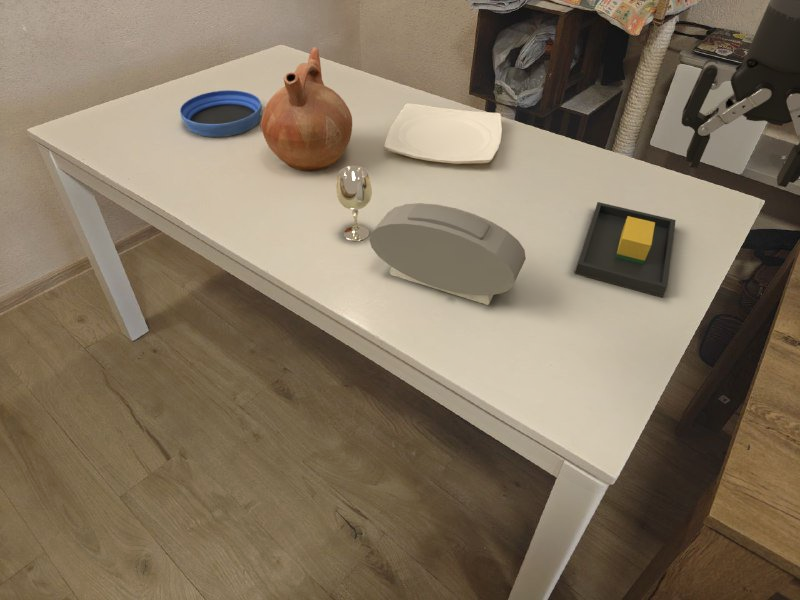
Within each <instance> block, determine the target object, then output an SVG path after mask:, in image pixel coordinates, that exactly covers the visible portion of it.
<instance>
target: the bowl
mask: <svg viewBox="0 0 800 600" xmlns="http://www.w3.org/2000/svg"><path fill="white" fill-rule="evenodd" d="M262 109H263V105H262V101H261V99H260V98H259V97H258V96H257V95H255V94H253V93H251V92H247V91H241V90H235V89H234V90H233V89H232V90H230V89H226V90H215V91H209V92H204V93H201V94H198V95H196V96H193V97H191V98H190V99H187V100H186V101H185V102H184V103H182V104H181V106H180V109H179V113H180V118H181V119H182V122H184V124H185V126H186V128H187V129H188V130H189V131H190V132H192V133H193V134H195V135H199V136H202V137H211V138H223V137H230V136H235V135H239V134H240V135H241V134H243V133H246V132H247V131H250V130H251V129H253V128H254V127H256V126H257V125H258V124H259V123H260V122H261V120H262V112H263V111H262Z"/></svg>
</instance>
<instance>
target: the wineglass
mask: <svg viewBox="0 0 800 600" xmlns="http://www.w3.org/2000/svg"><path fill="white" fill-rule="evenodd" d="M372 189H373V188H372V183H371V179H370V175H369V172H368V169H366V168H365V167H363V166H360V165H348V166H345V167H343V168H341V169H339V171H338V175H337V180H336V197H337V200H338V202H339V203H340V205H341V206H343V207H344V208H346V209H348V210H352V211H351V213H352V216H353V219H354V221H353V222H354V225H351V226H348V227H346V229H345V230H344V231H343V236H344V238H345V239H346V240H348V241H352V242H361V241H364V240H366V239H367V238H368V237H369V236H370V231H369V229H368V228H366V227H365V226H364V225H363V226H362V225H358V215H359V210H360V209H363V208H365V207H366V206H367V205H368V204H369V203H370V201H371V199H372V193H373V191H372Z"/></svg>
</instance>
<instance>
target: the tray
mask: <svg viewBox="0 0 800 600" xmlns="http://www.w3.org/2000/svg"><path fill="white" fill-rule="evenodd" d="M627 216H630V217H634V218H638V219H643V220H647V221H651V222H655V227H654V233H653V238H652V244H651V248H650V250H649V252H648V255H647V257H646V260H645V262H644V264H639V263H635V262H631V261H627V260H623V259H619V258H616V253H617V249H618V245H619V240H620V236H621V233H622V230H623V227H624V225H625V222H626V219H627ZM676 222H677V221H676V219H674V218H669V217H665V216H661V215H655V214H652V213H647V212H642V211H640V210H639V211H638V210H634V209H629V208H625V207H621V206H617V205H613V204H609V203H604V202H599V201H597V203H596V206H595V208H594V211H593V215H592V218H591V221H590V224H589V227H588V230H587V233H586V237H585V240H584V243H583V246H582V249H581V252H580V255H579V258H578V261H577V265H576V268H575V271H574V274H575V275H578V276H582V277H585V278H589V279H593V280H597V281H600V282H603V283H607V284H611V285H615V286H619V287H621V288H625V289H630V290H633V291H636V292H640V293H644V294H648V295H652V296H655V297H659V298H663V297H664V295H665V293H666V291H667V289H668V285H669V284H668V282H669V276H670V269H671V268H670V267H671V260H672V252H673V245H674V237H675V229H676Z"/></svg>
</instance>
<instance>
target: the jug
mask: <svg viewBox="0 0 800 600" xmlns="http://www.w3.org/2000/svg"><path fill="white" fill-rule="evenodd" d="M308 56H309V57H308V60H307V62H302V63H300V64H299V65H298V66H296V69H295V71H293V72H287V73H286V74H285V75H284V77H283V83H284V86H283V87H281V88H279V89H278V90H277V91H276V92H275V93H274V94H273V95H272V97H271V98H270V99H269V100H268V102H267V103H266V105H265V108H264V109H263V111H262V115H261V119H260V128H261V132H262V135H263V138H264V140H265V142H266V144H267V146H268V148H269V149H270V151H271V152H273V154H274V155H276V157H277V158H278V159H280V160H281V161H282V162H283V163H284V164H286V165H287V166H288V167H290V168H292V169H294V170H298V171H302V172H316V171H322V170H326V169H330V168H331V167H332V166H334V165H335V164H336V163H338V161H339V160H340V159H341V158H342V155H343V154H344V153H345V151H346V149H347V148H348V146H349V144H350V142H351V137H352V132H353V115H352V113H351V111H350V108H349V106H348V105H347V103H346V102H345V100H344V99H343V98H342V97H341V96H340V95H339V94H338V93H337V92H336V91H335V90H334V89H332V88H330V87H328V86H326V85H325V83H324V81H323V75H322V65H321V58H320V50H319V48H318V47H315V46H314V47H313V46H312V49H311V50H310V53H309V55H308Z"/></svg>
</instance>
